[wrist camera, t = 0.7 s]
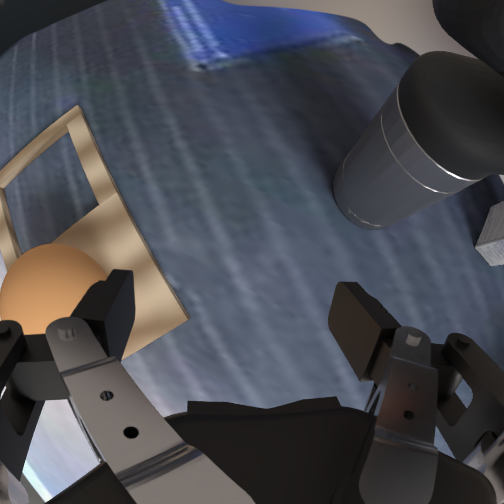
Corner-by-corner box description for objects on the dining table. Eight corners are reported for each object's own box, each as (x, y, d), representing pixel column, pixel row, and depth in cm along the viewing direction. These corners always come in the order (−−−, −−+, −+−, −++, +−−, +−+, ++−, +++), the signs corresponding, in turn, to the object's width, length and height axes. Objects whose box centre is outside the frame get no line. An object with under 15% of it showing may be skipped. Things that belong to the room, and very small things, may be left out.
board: (190, 318, 31) (187, 319, 30) (69, 390, 30) (63, 393, 28) (82, 110, 35) (77, 104, 33) (-8, 188, 33) (-14, 186, 31)
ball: (71, 234, 31) (4, 209, 19) (153, 285, 30) (101, 281, 18) (34, 322, 29) (-35, 328, 17) (109, 379, 29) (50, 415, 17)
